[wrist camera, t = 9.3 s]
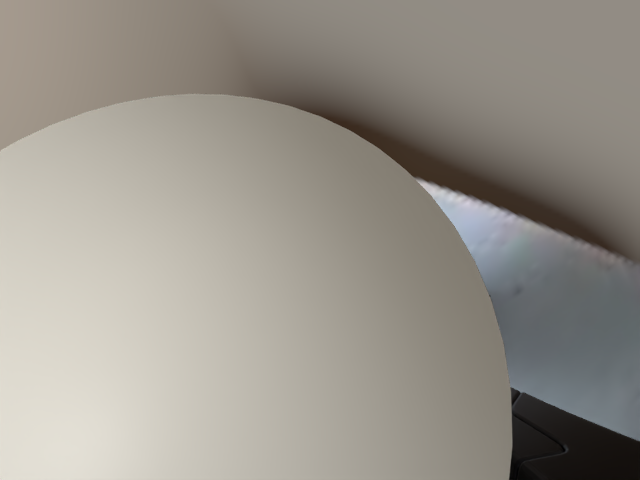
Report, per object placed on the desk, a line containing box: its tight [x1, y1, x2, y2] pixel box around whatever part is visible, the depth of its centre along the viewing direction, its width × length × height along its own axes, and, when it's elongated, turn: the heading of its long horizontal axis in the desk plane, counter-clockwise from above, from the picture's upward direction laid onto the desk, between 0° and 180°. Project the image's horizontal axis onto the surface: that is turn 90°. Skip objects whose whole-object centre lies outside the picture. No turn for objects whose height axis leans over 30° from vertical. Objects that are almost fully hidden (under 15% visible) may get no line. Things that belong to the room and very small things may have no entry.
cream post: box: [0, 94, 512, 480], centre depth 8 cm, size 4×4×13 cm
